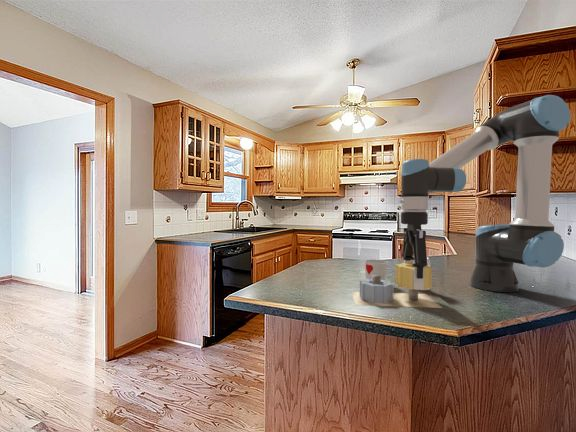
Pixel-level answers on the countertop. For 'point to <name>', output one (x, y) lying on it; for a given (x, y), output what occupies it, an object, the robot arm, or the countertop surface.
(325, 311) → the countertop surface
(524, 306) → the countertop surface
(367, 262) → the cup
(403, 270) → the gear
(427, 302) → the gear board
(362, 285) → the gear
